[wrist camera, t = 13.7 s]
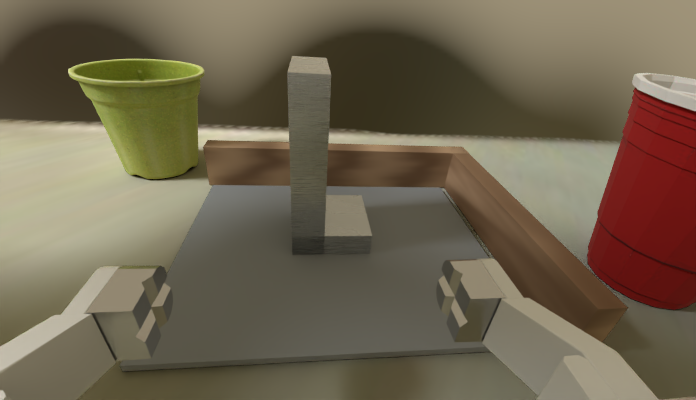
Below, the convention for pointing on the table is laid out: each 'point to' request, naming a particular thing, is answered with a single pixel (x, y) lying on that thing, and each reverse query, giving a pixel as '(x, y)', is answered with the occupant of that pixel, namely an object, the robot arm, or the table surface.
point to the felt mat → (310, 283)
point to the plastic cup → (652, 198)
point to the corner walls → (471, 198)
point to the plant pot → (146, 111)
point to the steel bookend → (318, 170)
